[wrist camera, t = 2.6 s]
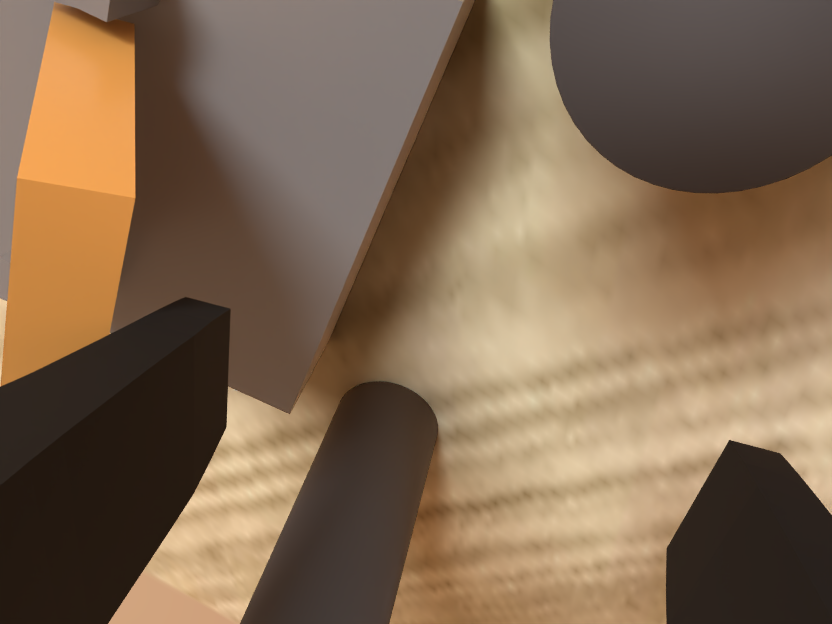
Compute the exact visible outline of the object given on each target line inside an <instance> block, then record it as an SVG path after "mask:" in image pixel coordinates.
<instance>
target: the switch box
mask: <svg viewBox="0 0 832 624" xmlns="http://www.w3.org/2000/svg"><path fill="white" fill-rule="evenodd" d="M54 2H56V3H60V4H64V5H67V6H71V7H74V8H78V9H80V10H82V11H84V12H86V13H88V14H90V15H92V16H95V17H97V18H99V19H101V20H103V21H105V22H109V21H112V20H115V19H118V20H122V21H125V22H129V23H133V24H134V28H135V203H134V208H133V213H132V218H131V224H130V229H129V234H128V239H127V245H126V250H125V255H124V260H123V266H122V271H121V276H120V281H119V286H118V292H117V297H116V302H115V307H114V313H113V318H112V323H111V328H110V333H113V332H115V331H117V330H119V329H121V328H123V327H125V326H127V325H129V324H131V323H133V322H135V321H137V320H139V319H140V318H142V317H144V316H146V315H148V314H150V313H152V312H154V311H156V310H158V309H160V308H162V307H164V306H166V305H169V304H171V303H173V302H175V301H177V300H179V299H182V298H184V297H188V298H192V299H196V300H200V301H204V302H207V303H211V304H215V305H219V306H222V307H226V308H230V309H231V315H230V342H229V369H228V386H229V387H231V388H233V389H235V390H238V391H240V392H242V393H244V394H246V395H249V396H251V397H253V398H255V399H258V400H260V401H262V402H264V403H266V404H269V405H271V406H273V407H275V408H277V409H280V410H282V411H284V412H286V413H289V414H290V413H291V411H292V409H293V407H294V405H295V403H296V401H297V400H298V398H299V396H300V394H301V392H302V390H303V388H304V386H305V385H306V383H307V381H308V379H309V377H310V375H311V373H312V372H313V370H314V368H315V366H316V364H317V362H318V360H319V358H320V357H321V355H322V353H323V351H324V349H325V347H326V345H327V343H328V342H329V339H330V337H331V335H332V332H333V330H334V328H335V325H336V323H337V321H338V318H339V316H340V314H341V311H342V309H343V307H344V304H345V302H346V300H347V297H348V295H349V293H350V290H351V288H352V286H353V283H354V281H355V279H356V276H357V274H358V272H359V269H360V267H361V265H362V262H363V260H364V258H365V255H366V253H367V251H368V248H369V246H370V244H371V241H372V239H373V237H374V234H375V232H376V230H377V227H378V225H379V223H380V221H381V218H382V216H383V214H384V211H385V209H386V207H387V204H388V202H389V200H390V197H391V195H392V193H393V190H394V188H395V186H396V183H397V181H398V179H399V176H400V174H401V172H402V169H403V167H404V165H405V162H406V160H407V158H408V155H409V153H410V151H411V148H412V146H413V144H414V141H415V139H416V137H417V134H418V132H419V130H420V127H421V125H422V123H423V120H424V118H425V116H426V113H427V111H428V109H429V106H430V104H431V102H432V99H433V97H434V95H435V92H436V90H437V88H438V85H439V83H440V81H441V78H442V76H443V74H444V71H445V69H446V67H447V65H448V62H449V60H450V58H451V55H452V53H453V51H454V48H455V46H456V44H457V41H458V39H459V37H460V34H461V32H462V30H463V27H464V25H465V23H466V20H467V18H468V16H469V13H470V11H471V9H472V6H473V4H474V2H475V0H0V298H1V299H3V300H6V301H7V299H8V286H9V273H10V261H11V248H12V235H13V223H14V210H15V197H16V184H17V176H18V171H19V166H20V161H21V157H22V152H23V147H24V143H25V138H26V133H27V129H28V124H29V119H30V114H31V110H32V105H33V100H34V96H35V91H36V86H37V81H38V77H39V72H40V67H41V63H42V58H43V53H44V49H45V44H46V39H47V34H48V30H49V25H50V20H51V16H52V11H53V6H54Z"/></svg>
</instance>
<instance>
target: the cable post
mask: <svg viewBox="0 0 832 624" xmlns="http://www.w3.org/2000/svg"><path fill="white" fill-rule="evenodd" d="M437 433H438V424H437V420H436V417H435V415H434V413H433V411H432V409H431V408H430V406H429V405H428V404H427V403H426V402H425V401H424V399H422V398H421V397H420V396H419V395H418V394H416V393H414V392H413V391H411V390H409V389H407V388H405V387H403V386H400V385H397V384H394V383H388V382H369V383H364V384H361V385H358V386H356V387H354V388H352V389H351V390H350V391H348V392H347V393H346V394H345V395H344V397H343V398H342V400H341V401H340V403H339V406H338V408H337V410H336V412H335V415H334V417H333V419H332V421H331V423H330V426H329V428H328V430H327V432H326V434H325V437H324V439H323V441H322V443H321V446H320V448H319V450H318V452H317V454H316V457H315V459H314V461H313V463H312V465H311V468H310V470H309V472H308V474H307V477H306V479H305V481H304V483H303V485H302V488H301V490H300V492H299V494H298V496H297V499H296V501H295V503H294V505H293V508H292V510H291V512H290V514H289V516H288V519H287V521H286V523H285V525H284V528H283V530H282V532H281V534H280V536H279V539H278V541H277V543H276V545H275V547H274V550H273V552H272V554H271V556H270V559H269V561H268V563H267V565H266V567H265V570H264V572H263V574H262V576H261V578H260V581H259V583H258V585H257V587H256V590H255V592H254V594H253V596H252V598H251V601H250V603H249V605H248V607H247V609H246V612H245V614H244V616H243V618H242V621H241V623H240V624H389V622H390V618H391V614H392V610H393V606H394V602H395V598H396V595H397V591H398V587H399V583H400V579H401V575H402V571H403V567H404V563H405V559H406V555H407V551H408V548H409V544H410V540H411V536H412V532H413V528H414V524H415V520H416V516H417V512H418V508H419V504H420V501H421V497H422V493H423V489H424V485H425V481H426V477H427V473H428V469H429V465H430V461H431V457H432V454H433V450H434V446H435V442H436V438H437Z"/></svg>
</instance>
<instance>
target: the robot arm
mask: <svg viewBox="0 0 832 624" xmlns="http://www.w3.org/2000/svg"><path fill="white" fill-rule="evenodd" d="M230 315H231V309H230V308H226V307H222V306H219V305H215V304H211V303H207V302H204V301H200V300H196V299H192V298H188V297H184V298H182V299H179V300H177V301H175V302H173V303H171V304H169V305H166V306H164V307H162V308H160V309H158V310H156V311H154V312H152V313H150V314H148V315H146V316H144V317H142V318H140V319H139V320H137V321H135V322H133V323H131V324H129V325H127V326H125V327H123V328H121V329H119V330H117V331H115V332H113V333H111V334H109V335H107V336H105V337H103V338H101V339H99V340H97V341H95V342H93V343H91V344H89V345H87V346H85V347H83V348H81V349H79V350H77V351H75V352H73V353H71V354H69V355H67V356H65V357H63V358H61V359H59V360H57V361H55V362H53V363H51V364H49V365H47V366H45V367H42V368H40V369H38V370H36V371H34V372H32V373H30V374H28V375H25V376H23V377H21V378H19V379H16V380H14V381H12V382H10V383H7V384H5V385H3V386H1V387H0V624H108V623H109V621H110V620H111V618H112V617H113V615H114V614H115V612H116V611H117V609H118V608H119V606H120V605H121V603H122V601H123V600H124V599H125V597H126V596H127V594H128V593H129V591H130V590H131V588H132V586H133V585H134V584H135V582H136V581H137V579H138V577H139V576H140V574H141V573H142V572H143V570H144V569H145V567H146V566H147V564H148V563H149V561H150V560H151V558H152V557H153V555H154V554H155V552H156V551H157V549H158V548H159V546H160V544H161V543H162V541H163V540H164V538H165V537H166V535H167V534H168V532H169V531H170V529H171V528H172V526H173V525H174V523H175V522H176V520H177V519H178V517H179V515H180V514H181V512H182V511H183V509H184V508H185V506H186V505H187V503H188V502H189V500H190V498H191V497H192V495H193V494H194V492H195V490H196V488H197V486H198V484H199V482H200V480H201V478H202V476H203V474H204V472H205V470H206V468H207V466H208V464H209V462H210V460H211V458H212V456H213V454H214V452H215V450H216V448H217V446H218V444H219V442H220V439H221V437H222V435H223V433H224V431H225V429H226V423H227V396H228V369H229V342H230ZM666 615H667V624H832V515H831V514H830V513H829V511H828V510H827V509H826V508H825V506H824V505H823V504H822V503H821V501H820V500H819V499H818V498H817V496H816V495H815V494H814V493H813V491H812V490H811V489H810V488H809V486H808V485H807V484H806V483H805V482H804V480H803V479H802V478H801V477H800V475H799V474H798V473H797V472H796V471H795V470H794V468H793V467H792V466H791V465H790V464H789V463H788V461H787V460H786V459H785V458H784V457H783V456H782V455H781V454H780V453H777V452H773V451H769V450H765V449H761V448H758V447H754V446H750V445H746V444H742V443H739V442H735V441H731V440H729V442H728V444H727V445H726V447H725V449H724V450H723V452H722V454H721V456H720V457H719V459H718V461H717V463H716V464H715V466H714V468H713V469H712V471H711V473H710V475H709V476H708V478H707V480H706V482H705V483H704V485H703V487H702V488H701V490H700V492H699V494H698V495H697V497H696V499H695V500H694V502H693V504H692V506H691V507H690V509H689V511H688V513H687V514H686V516H685V518H684V519H683V521H682V523H681V525H680V526H679V528H678V530H677V532H676V533H675V535H674V537H673V538H672V540H671V542H670V544H669V545H668V547H667V562H666Z"/></svg>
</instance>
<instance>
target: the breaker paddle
mask: <svg viewBox="0 0 832 624" xmlns="http://www.w3.org/2000/svg"><path fill="white" fill-rule="evenodd" d="M134 203H135V28H134V24H133V23H129V22H125V21H122V20H118V19H115V20H112V21H109V22H105V21H103V20H101V19H99V18H97V17H95V16H92V15H90V14H88V13H86V12H84V11H82V10H80V9H78V8H74V7H71V6H67V5H64V4H60V3H56V2H54V6H53V11H52V16H51V20H50V25H49V30H48V34H47V39H46V44H45V49H44V53H43V58H42V63H41V67H40V72H39V77H38V81H37V86H36V91H35V96H34V100H33V105H32V110H31V114H30V119H29V124H28V129H27V133H26V138H25V143H24V147H23V152H22V157H21V161H20V166H19V171H18V176H17V184H16V197H15V210H14V223H13V235H12V248H11V261H10V273H9V286H8V299H7V312H6V324H5V337H4V350H3V362H2V375H1V386H3V385H5V384H7V383H10V382H12V381H14V380H16V379H19V378H21V377H23V376H25V375H28V374H30V373H32V372H34V371H36V370H38V369H40V368H42V367H45V366H47V365H49V364H51V363H53V362H55V361H57V360H59V359H61V358H63V357H65V356H67V355H69V354H71V353H73V352H75V351H77V350H79V349H81V348H83V347H85V346H87V345H89V344H91V343H93V342H95V341H97V340H99V339H101V338H103V337H105V336H107V335H109V334H110V328H111V323H112V318H113V313H114V307H115V302H116V297H117V292H118V286H119V281H120V276H121V271H122V266H123V260H124V255H125V250H126V245H127V239H128V234H129V229H130V224H131V218H132V213H133V208H134Z"/></svg>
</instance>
